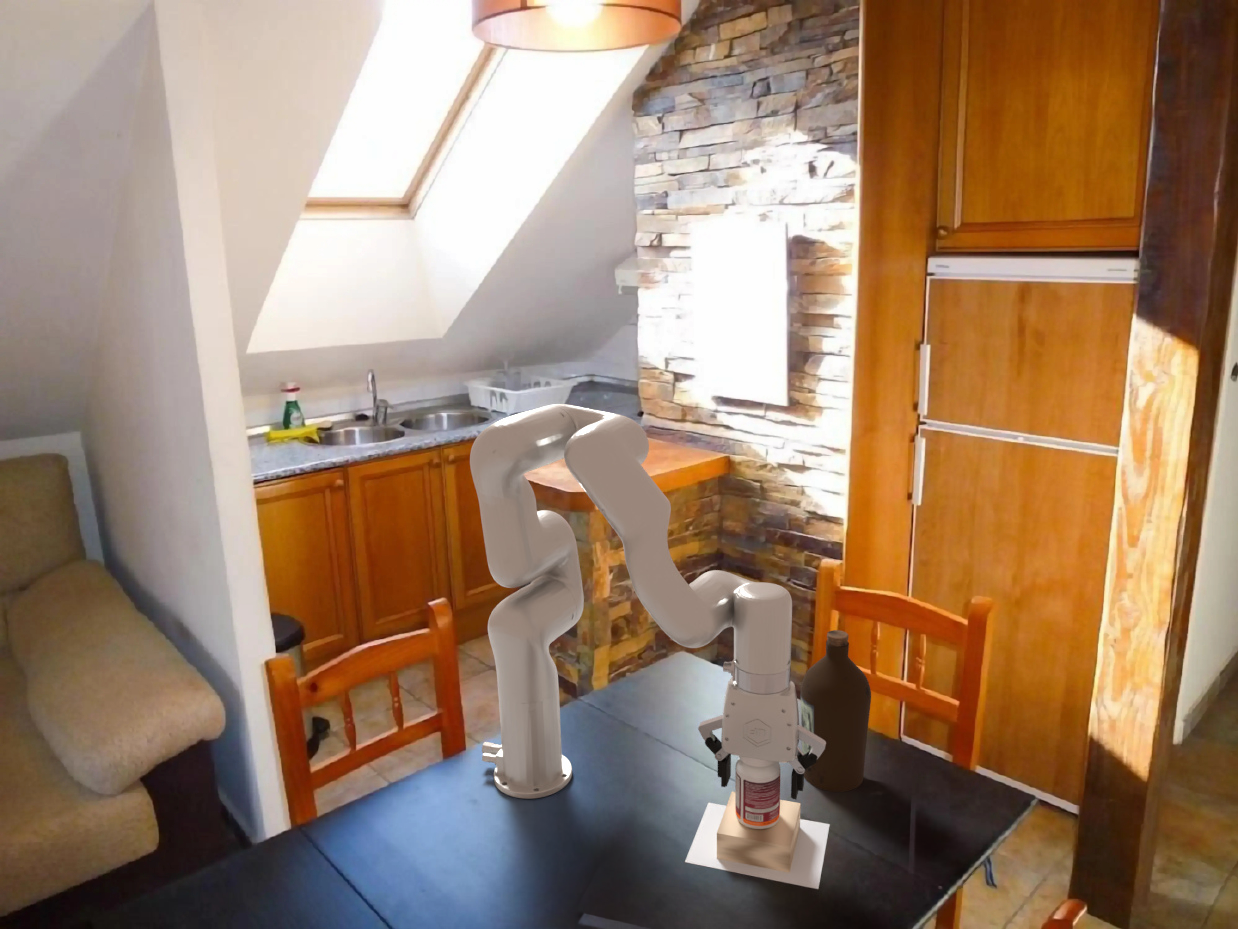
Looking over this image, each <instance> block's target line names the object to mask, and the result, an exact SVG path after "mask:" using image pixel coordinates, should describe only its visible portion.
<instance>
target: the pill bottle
mask: <svg viewBox="0 0 1238 929" xmlns="http://www.w3.org/2000/svg"><path fill="white" fill-rule="evenodd" d="M734 769H735V788H734V789H735V791H734V792H735V809H736V817H737V819H738V820H739V822H741V823H742V824H743V825H745V826H746V827H749V828H753V829H766V828H770V827H772V826H774V825H775V824H776V823H777V822H778V820H779V817H780V800H781V764H780V762H773V761H767V760H760V759H755V758H748V757H742V756H738V759H737V760H736V763H735V768H734Z"/></svg>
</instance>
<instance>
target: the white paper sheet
mask: <svg viewBox="0 0 1238 929" xmlns="http://www.w3.org/2000/svg"><path fill="white" fill-rule="evenodd" d="M726 806H727V805H725V804H718V803H713V802H708V803H707V806H706V808H705V810H704V813H703V816H702V818H701V819H700V820H701V821H700V823H699V825H698V828H697V830H696V833H695V836H694V838H693V840H692V842H691V845H690V848H689V851H688V853H687V856H686V858H685V861H684V863H687V864H692V865H696V866H697V865H698V866H700V867H701V866H702V867H708V868H712V869H716V870H720V871H726V872H732V873H737V874H742V875H747V876H752V877H756V878H761V879H765V880H766V879H767V880H770V881H776V882H781V883H784V884H791V885H796V886H799V887H800V886H801V887H805V888H811V889H815V890H819V889H820V888H819V887H820V883H821V878H822V877H821V875H822V871H823V865H824V859H825V854H826V848H827V842H828V835H829V831H830V826H831V824H830V823H824V822H820V821H813V820H808V819H802V818H800V830H799V834H798V839H797V843H796V848H795V852H794V856H793V861H792V865H791V870H790V873H788V872H783V871H778V870H773V869H768V868H763V867H758V866H753V865H748V864H743V863H738V862H733V861H728V860H723V859H718V858H717V831H718V828H719V825H720V823H721V820H722V817H723V814H724V812H725V809H726Z"/></svg>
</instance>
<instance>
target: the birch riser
mask: <svg viewBox="0 0 1238 929" xmlns="http://www.w3.org/2000/svg"><path fill="white" fill-rule="evenodd" d="M801 804H802V803H800V802H795V801H789V800H784V799H780V817H779V820H778V822H777V823H776V824H775V825H774V826H772V827H770V828H766V829H753V828H749V827H746V826H745V825H743V824H742V823H741V822H739V820H738V819H737V817H736V809H735V791H733V790H732V791H731V793H730V795H729V798H728V801H727V804H726V805H725V806H726V809H725V812H724V814H723V817H722V820H721V823H720V825H719V828H718V831H717V858H718V859H723V860H728V861H733V862H738V863H743V864H748V865H753V866H758V867H763V868H768V869H773V870H778V871H783V872H788V873H790V870H791V865H792V861H793V856H794V852H795V848H796V843H797V839H798V834H799V830H800V819H801V806H802V805H801Z"/></svg>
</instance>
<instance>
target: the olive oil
mask: <svg viewBox="0 0 1238 929" xmlns="http://www.w3.org/2000/svg"><path fill="white" fill-rule="evenodd" d="M826 639H827V640H826V641H825V655H824V656H823V657H822V658H820V659H819V660H818V661H817V662H815V663H814V664H812V666H810V667H809V669H807V670H806V673H805V674H804V676H803V679H802V682H801V685H800V693H799V694H800V714H801V715H800V719H801V721H800V722H801V724H800V725H801V726H802V727H804V728H805V729H807V730H809V731H810V732H812V733H814V734H815V735H817V736H818V737H820V738H822V739H823V740H825V741H826V746H825V749H824V751H823V752H822V754H821V755H820V757H819V758H818V759H817V761H816V763H815V764H813V765H812V766H810V767H809V768H807V769H806V770H805V771H804V780H805V781H806V782H808V784H810V785H811V786H813V787H815V788H817V789H820V790H824V791H828V792H833V793H834V792H835V793H839V792H840V793H841V792H842V793H843V792H848V791H853V790H855V789H857V788H859V787H860V786H861V785H862V783H863V782H864V774H865V773H864V772H865V760H866V759H865V758H866V751H867V750H866V749H867V739H868V738H867V737H868V730H869V721H870V720H869V719H870V711H871V703H872V691H871V690H872V689H871V687H870V682H869V680H868V677H867V676H866V674H865V673H864V672H863V670H862V669H861V668H860V667H859V666H857V664H855V663H854V662H853V660H851V658H850V657H849V651H850V650H849V648H850V643H849V634H848V633H847V632H846V631H843V630H839V629H836V630H830V631H828V632H827V633H826ZM811 749H812V747H811V746H810V745H808V744H806V743H805V742H803V741H801V751H802V753H803V754H806V753H807V752H808V751H810V750H811Z"/></svg>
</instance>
